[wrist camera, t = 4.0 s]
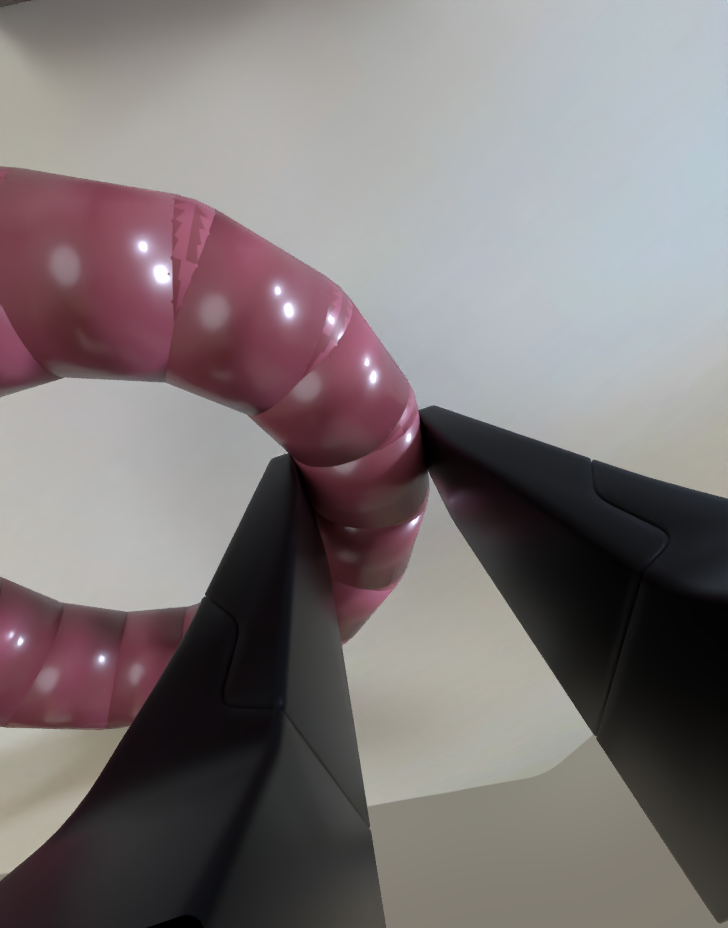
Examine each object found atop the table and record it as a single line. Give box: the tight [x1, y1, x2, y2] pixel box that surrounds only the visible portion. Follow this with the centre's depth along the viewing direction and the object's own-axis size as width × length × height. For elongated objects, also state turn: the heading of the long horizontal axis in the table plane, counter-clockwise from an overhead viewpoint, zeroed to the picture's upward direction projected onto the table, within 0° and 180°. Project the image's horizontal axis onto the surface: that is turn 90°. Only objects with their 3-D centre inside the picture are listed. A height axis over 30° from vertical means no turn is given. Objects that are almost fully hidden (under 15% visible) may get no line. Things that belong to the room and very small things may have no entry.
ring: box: [0, 167, 429, 730], centre depth 8 cm, size 11×11×2 cm
